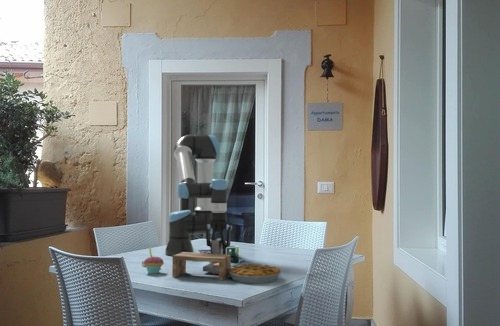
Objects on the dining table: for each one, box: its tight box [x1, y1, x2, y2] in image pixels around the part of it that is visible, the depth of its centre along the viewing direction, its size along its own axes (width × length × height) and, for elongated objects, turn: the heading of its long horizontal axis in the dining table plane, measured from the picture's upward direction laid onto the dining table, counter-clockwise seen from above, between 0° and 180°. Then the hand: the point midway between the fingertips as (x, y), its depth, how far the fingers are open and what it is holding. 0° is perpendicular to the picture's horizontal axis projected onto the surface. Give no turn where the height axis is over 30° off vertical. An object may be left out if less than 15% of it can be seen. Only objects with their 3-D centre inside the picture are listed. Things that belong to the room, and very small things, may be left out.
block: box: [212, 263, 219, 275], centre depth 236 cm, size 6×6×4 cm
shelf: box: [171, 252, 232, 281], centre depth 228 cm, size 11×22×9 cm, turn 74°
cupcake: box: [143, 245, 164, 275], centre depth 235 cm, size 9×8×12 cm
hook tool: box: [202, 237, 222, 273], centre depth 243 cm, size 21×9×12 cm, turn 164°
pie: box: [229, 263, 282, 284], centre depth 224 cm, size 22×22×5 cm
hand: (218, 261), depth 250 cm, fingers closed on hook tool, 3 cm apart
